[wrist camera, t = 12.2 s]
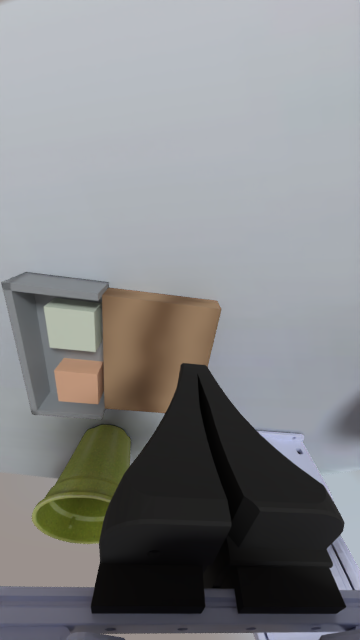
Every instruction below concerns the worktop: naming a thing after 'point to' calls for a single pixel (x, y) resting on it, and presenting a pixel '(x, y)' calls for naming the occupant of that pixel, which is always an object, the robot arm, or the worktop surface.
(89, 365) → the tile terracotta
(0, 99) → the worktop surface
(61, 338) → the tile sage
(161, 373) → the board
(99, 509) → the plant pot
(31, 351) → the tray
